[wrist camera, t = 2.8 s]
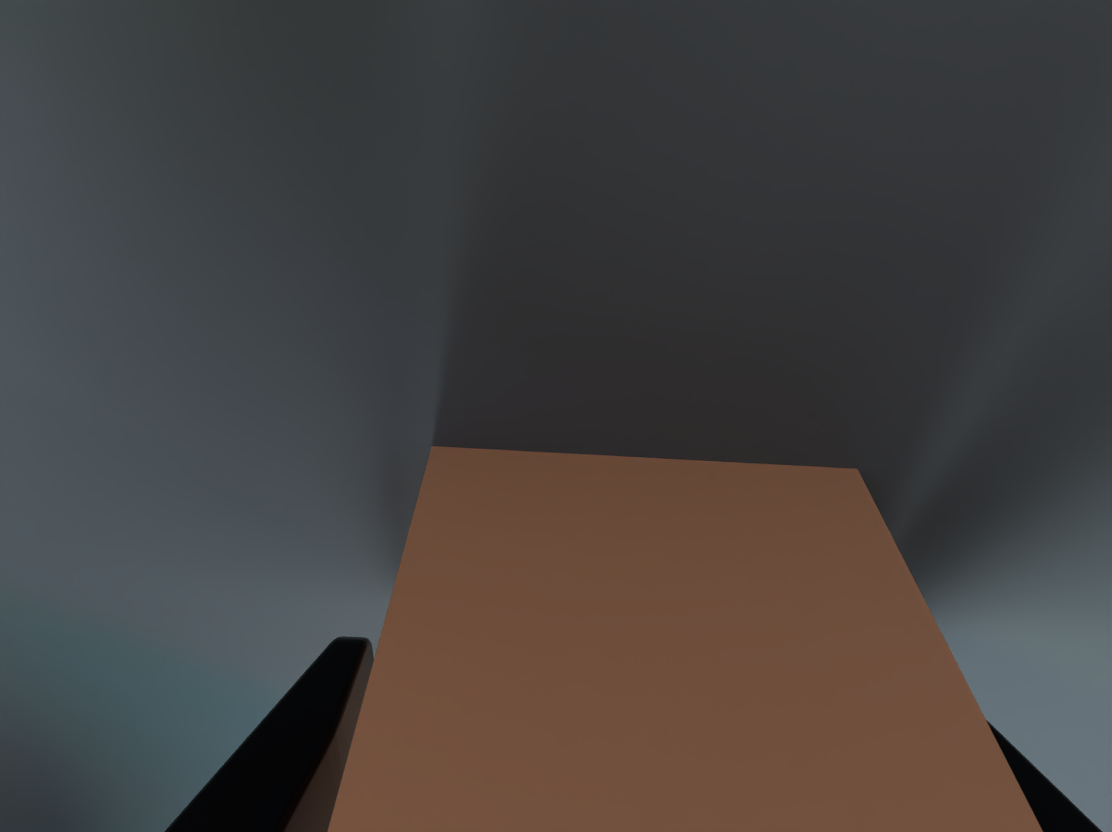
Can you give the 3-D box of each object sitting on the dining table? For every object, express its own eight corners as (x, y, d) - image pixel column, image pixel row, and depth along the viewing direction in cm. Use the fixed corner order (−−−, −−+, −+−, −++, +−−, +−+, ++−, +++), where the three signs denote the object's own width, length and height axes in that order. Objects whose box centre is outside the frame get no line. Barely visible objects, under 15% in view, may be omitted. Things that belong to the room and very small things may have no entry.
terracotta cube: (855, 465, 9) (1105, 954, 5) (767, 718, 12) (874, 1167, 7) (432, 442, 9) (303, 918, 5) (446, 703, 12) (373, 1145, 7)
